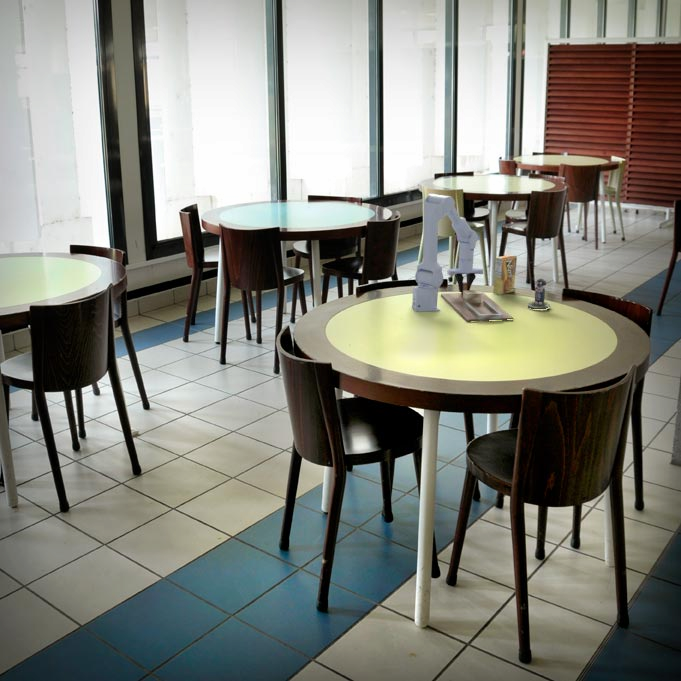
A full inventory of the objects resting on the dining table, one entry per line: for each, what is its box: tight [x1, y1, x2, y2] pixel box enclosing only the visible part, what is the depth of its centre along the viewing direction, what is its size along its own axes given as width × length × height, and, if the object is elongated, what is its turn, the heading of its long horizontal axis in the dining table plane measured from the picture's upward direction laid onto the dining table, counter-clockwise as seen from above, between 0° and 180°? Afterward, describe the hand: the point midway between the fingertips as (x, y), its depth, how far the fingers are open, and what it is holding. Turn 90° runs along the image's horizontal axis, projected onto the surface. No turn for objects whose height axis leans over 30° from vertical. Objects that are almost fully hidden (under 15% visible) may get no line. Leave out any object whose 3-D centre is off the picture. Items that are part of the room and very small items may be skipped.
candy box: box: [492, 254, 518, 296], centre depth 351 cm, size 9×4×15 cm, turn 129°
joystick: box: [460, 281, 483, 304], centre depth 339 cm, size 6×14×5 cm, turn 9°
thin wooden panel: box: [440, 292, 514, 323], centre depth 331 cm, size 18×36×2 cm, turn 9°
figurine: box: [527, 278, 551, 310], centre depth 330 cm, size 8×8×12 cm
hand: (464, 291), depth 345 cm, fingers closed on joystick, 2 cm apart
